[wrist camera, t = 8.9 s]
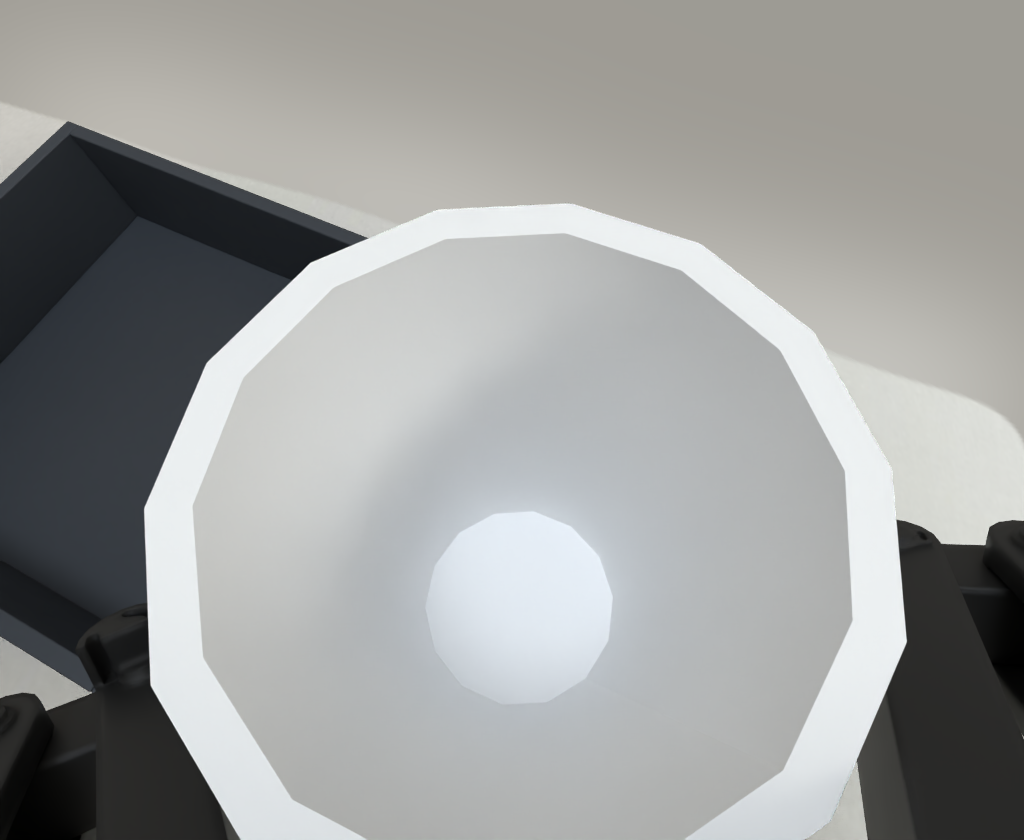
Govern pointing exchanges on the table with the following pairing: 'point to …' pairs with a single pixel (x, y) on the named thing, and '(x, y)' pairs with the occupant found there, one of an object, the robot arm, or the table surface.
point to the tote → (112, 360)
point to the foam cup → (523, 547)
